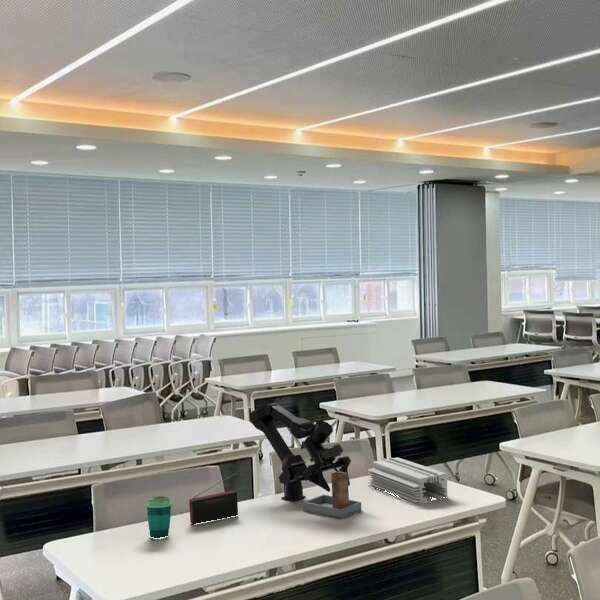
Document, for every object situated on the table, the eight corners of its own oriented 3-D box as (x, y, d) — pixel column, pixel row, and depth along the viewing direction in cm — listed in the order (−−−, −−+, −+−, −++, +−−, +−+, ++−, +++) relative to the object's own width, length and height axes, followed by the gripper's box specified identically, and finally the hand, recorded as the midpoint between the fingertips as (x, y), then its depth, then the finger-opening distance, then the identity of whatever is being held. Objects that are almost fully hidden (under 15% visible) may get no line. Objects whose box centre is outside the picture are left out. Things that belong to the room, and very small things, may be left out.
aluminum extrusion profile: (415, 505, 275) (413, 477, 275) (368, 486, 302) (366, 460, 302) (447, 498, 282) (446, 471, 281) (398, 480, 309) (397, 455, 308)
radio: (194, 526, 263) (191, 482, 262) (190, 524, 265) (188, 480, 265) (243, 515, 272) (241, 472, 272) (240, 513, 275) (237, 471, 274)
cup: (142, 539, 252) (140, 502, 252) (156, 531, 260) (154, 495, 259) (164, 541, 249) (162, 503, 249) (177, 532, 257) (176, 496, 256)
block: (332, 510, 270) (331, 473, 270) (341, 508, 273) (339, 471, 272) (340, 513, 267) (339, 475, 267) (349, 510, 270) (347, 472, 269)
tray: (303, 510, 274) (303, 502, 274) (323, 502, 283) (323, 494, 282) (341, 519, 263) (341, 510, 263) (361, 510, 271) (361, 502, 271)
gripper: (306, 442, 267) (330, 480, 259) (346, 433, 279) (369, 469, 271) (293, 461, 274) (315, 499, 266) (332, 451, 286) (354, 487, 278)
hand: (339, 488), depth 270 cm, fingers open, 9 cm apart
